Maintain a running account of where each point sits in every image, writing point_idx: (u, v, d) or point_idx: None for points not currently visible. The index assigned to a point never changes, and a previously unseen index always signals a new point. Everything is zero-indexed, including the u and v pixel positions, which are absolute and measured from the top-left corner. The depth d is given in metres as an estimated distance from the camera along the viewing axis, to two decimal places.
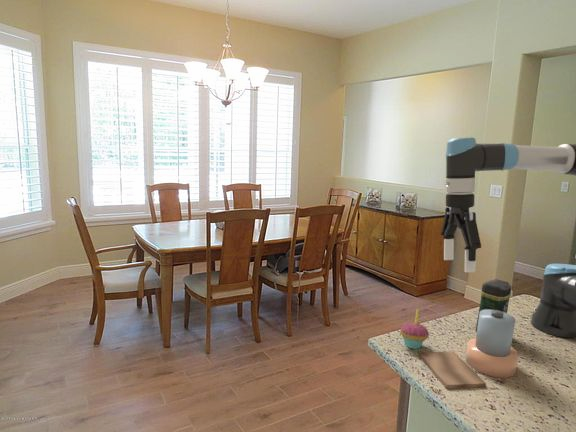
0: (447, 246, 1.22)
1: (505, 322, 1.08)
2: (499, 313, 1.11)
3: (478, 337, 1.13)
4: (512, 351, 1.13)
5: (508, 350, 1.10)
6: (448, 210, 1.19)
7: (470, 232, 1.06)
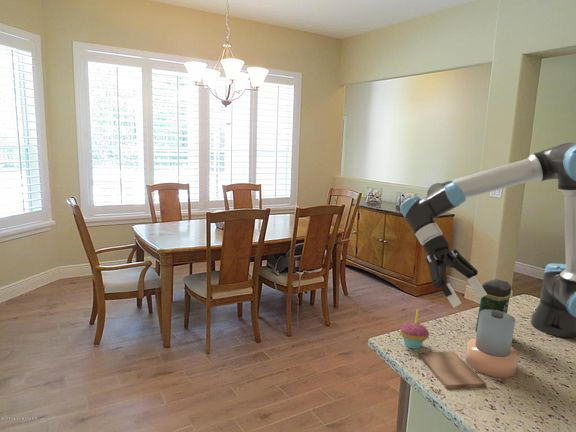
0: (473, 284, 1.23)
1: (505, 322, 1.08)
2: (499, 313, 1.11)
3: (478, 337, 1.13)
4: (512, 351, 1.13)
5: (508, 350, 1.10)
6: None
7: (431, 273, 1.18)
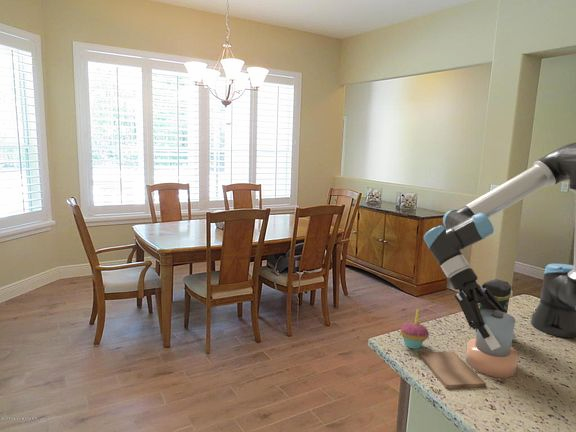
0: None
1: (505, 322, 1.08)
2: (499, 313, 1.11)
3: (478, 337, 1.13)
4: (512, 351, 1.13)
5: (508, 350, 1.10)
6: None
7: (464, 313, 1.12)
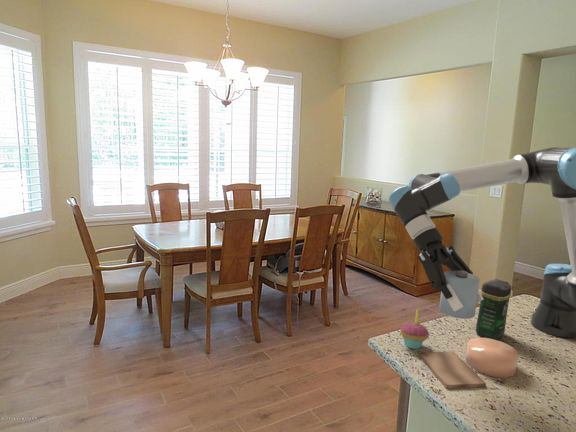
0: None
1: (468, 281, 1.02)
2: (463, 273, 1.05)
3: (441, 299, 1.07)
4: (512, 351, 1.13)
5: (472, 311, 1.04)
6: None
7: (427, 273, 1.06)
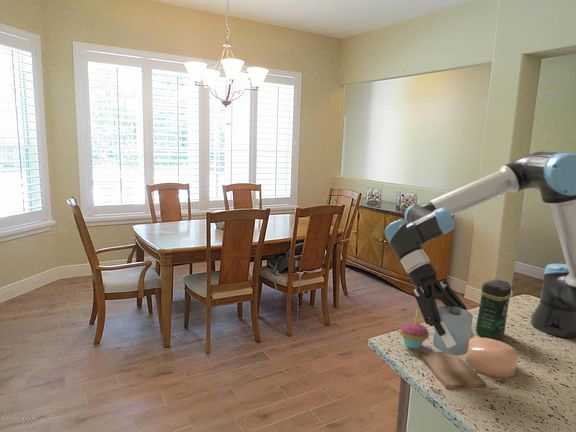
0: None
1: (461, 319, 1.04)
2: (456, 309, 1.07)
3: (435, 334, 1.09)
4: (512, 351, 1.13)
5: (465, 348, 1.06)
6: None
7: (421, 309, 1.08)
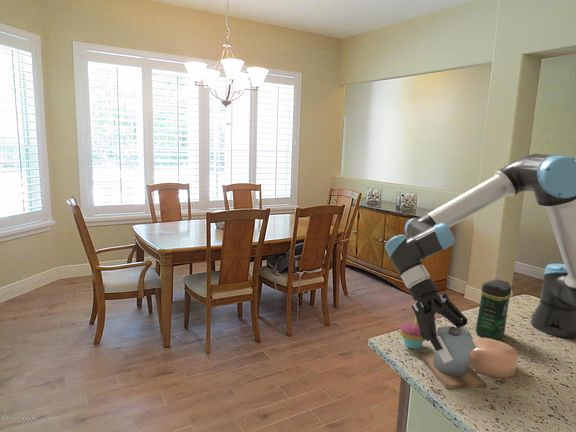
0: None
1: (460, 340, 1.05)
2: (456, 331, 1.08)
3: (435, 355, 1.10)
4: (512, 351, 1.13)
5: (465, 369, 1.07)
6: None
7: (419, 324, 1.09)
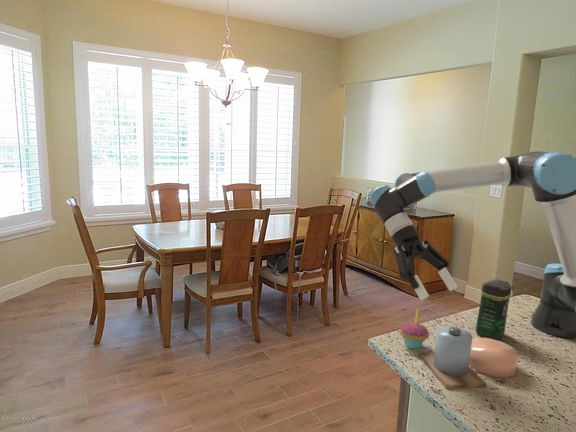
0: (443, 277, 1.18)
1: (461, 340, 1.05)
2: (456, 331, 1.08)
3: (435, 355, 1.10)
4: (512, 351, 1.13)
5: (465, 369, 1.07)
6: None
7: (398, 264, 1.13)
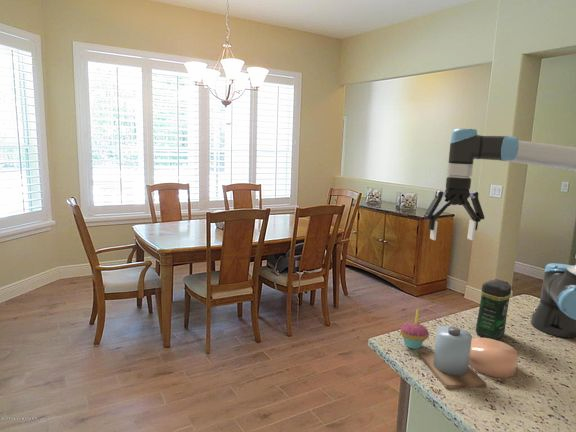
0: (470, 226, 1.35)
1: (460, 340, 1.06)
2: (456, 330, 1.08)
3: (435, 355, 1.10)
4: (512, 351, 1.13)
5: (465, 368, 1.07)
6: None
7: (430, 205, 1.32)
